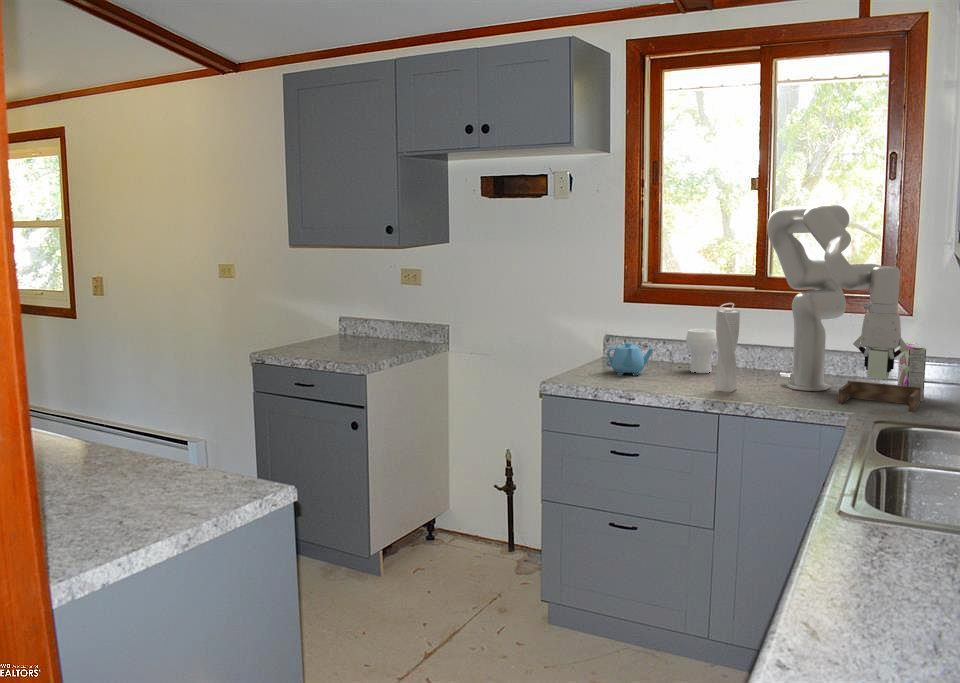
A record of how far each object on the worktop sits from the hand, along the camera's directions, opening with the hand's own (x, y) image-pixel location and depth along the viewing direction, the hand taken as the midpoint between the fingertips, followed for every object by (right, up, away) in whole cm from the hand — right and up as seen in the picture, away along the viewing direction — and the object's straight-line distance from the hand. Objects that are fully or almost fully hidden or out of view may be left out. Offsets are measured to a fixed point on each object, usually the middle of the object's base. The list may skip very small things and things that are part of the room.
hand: (878, 369), depth 248 cm
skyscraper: (-37, -7, +25) cm, 46 cm away
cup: (-37, -3, +58) cm, 69 cm away
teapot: (-63, -3, +56) cm, 85 cm away
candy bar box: (+14, -9, +10) cm, 19 cm away
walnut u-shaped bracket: (+1, -10, +2) cm, 10 cm away
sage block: (0, -2, 0) cm, 2 cm away
